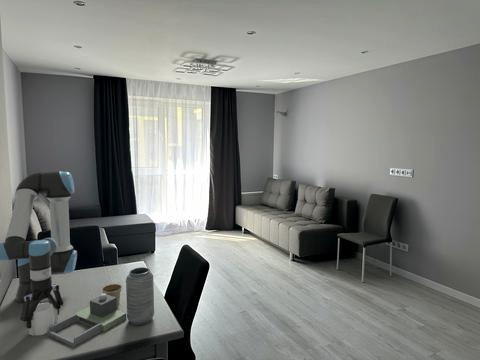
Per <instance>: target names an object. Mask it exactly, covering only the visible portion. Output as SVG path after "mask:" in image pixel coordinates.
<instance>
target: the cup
mask: <svg viewBox="0 0 480 360" xmlns="http://www.w3.org/2000/svg"><path fill="white" fill-rule="evenodd" d="M53 308H54V307H53V304H52V303H50V302H42V303H40V302H39V304H38V305H37V308H36V310H35V312H33V313H34V315H33V317H32V319H33V320H34V332H35V335H34V336H43V335H45V334H46V335H47V331H49V327H50V326H52V325H54V319H53Z"/></svg>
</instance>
